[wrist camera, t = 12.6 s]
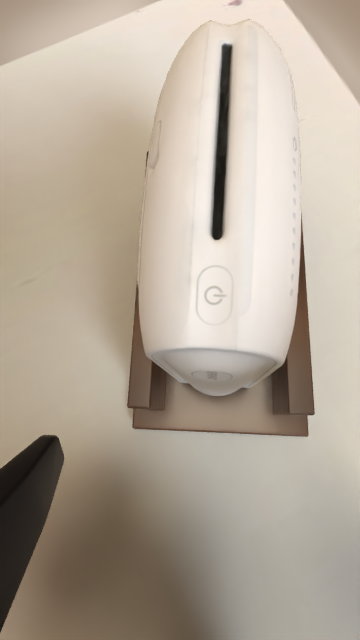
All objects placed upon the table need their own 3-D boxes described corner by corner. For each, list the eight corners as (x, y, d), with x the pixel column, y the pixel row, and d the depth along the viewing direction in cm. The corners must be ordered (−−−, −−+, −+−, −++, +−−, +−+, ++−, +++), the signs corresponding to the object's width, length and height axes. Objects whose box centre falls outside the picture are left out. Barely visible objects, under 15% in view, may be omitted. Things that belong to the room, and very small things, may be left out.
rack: (304, 435, 18) (335, 442, 13) (136, 427, 19) (108, 432, 14) (290, 203, 21) (311, 142, 17) (151, 207, 22) (133, 151, 18)
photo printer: (256, 401, 17) (338, 372, 6) (174, 395, 18) (91, 357, 6) (259, 224, 20) (319, -46, 8) (188, 224, 21) (149, -32, 9)
